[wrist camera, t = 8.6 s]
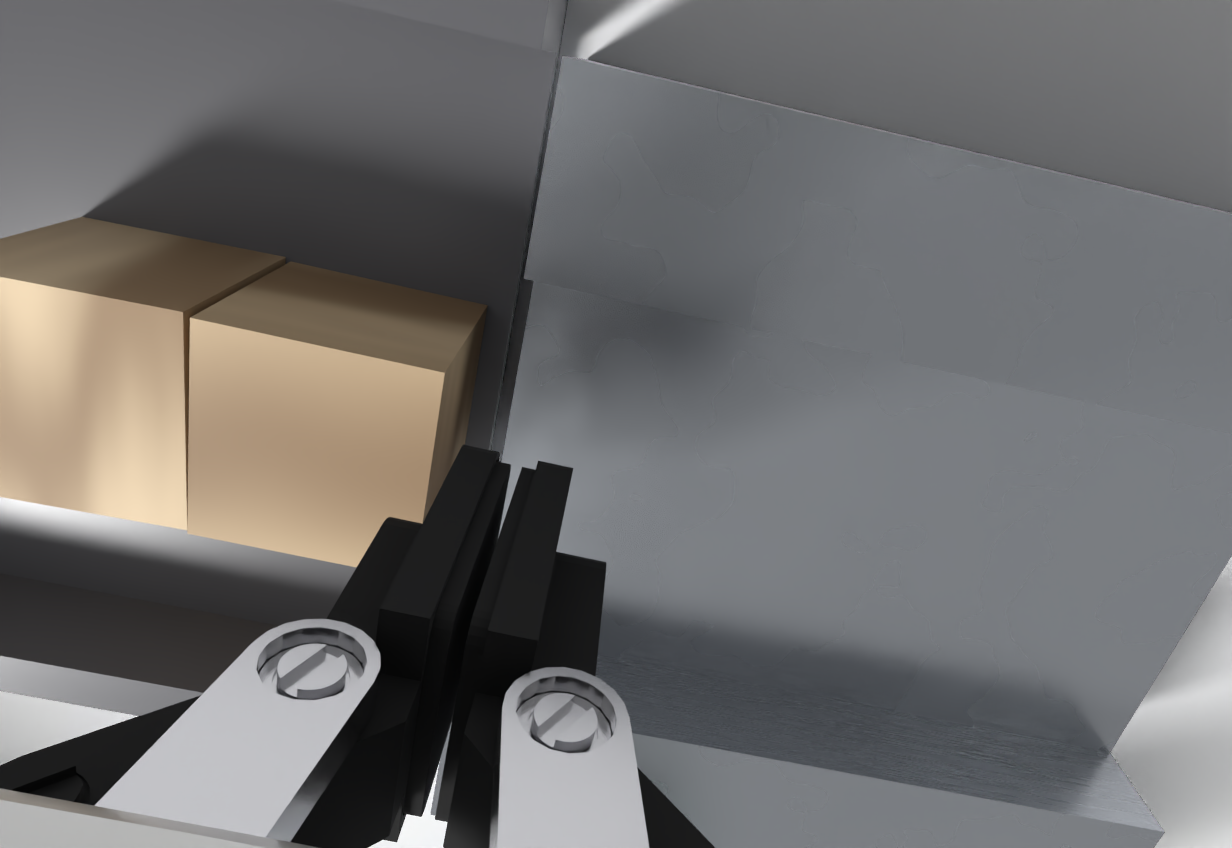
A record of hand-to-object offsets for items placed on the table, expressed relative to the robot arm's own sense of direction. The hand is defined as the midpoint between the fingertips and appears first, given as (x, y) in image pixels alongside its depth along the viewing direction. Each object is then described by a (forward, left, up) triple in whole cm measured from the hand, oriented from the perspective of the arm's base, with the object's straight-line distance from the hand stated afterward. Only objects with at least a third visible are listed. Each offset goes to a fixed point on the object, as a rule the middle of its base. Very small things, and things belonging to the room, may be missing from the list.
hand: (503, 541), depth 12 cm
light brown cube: (0, -3, -6) cm, 7 cm away
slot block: (0, +7, -6) cm, 9 cm away
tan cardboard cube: (0, -6, -4) cm, 7 cm away
